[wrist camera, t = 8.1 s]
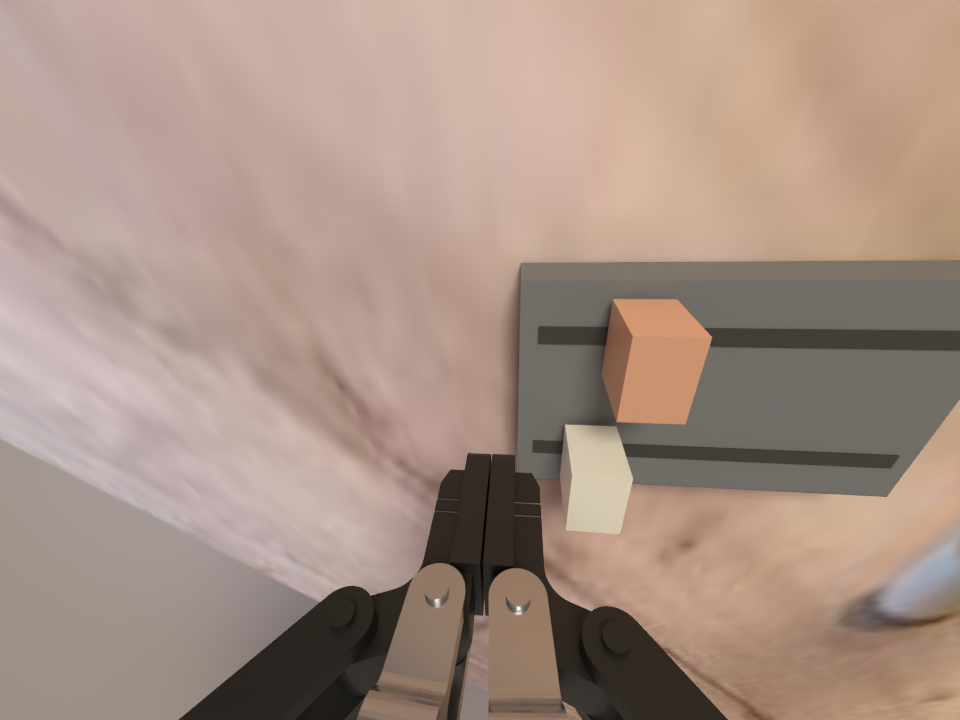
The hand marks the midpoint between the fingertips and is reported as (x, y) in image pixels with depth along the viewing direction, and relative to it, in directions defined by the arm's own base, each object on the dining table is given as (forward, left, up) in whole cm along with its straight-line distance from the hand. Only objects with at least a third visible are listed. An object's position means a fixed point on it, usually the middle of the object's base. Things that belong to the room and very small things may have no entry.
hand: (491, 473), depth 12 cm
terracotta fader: (-7, 0, -9) cm, 12 cm away
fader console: (-12, +4, -13) cm, 18 cm away
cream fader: (-5, +8, -9) cm, 13 cm away
